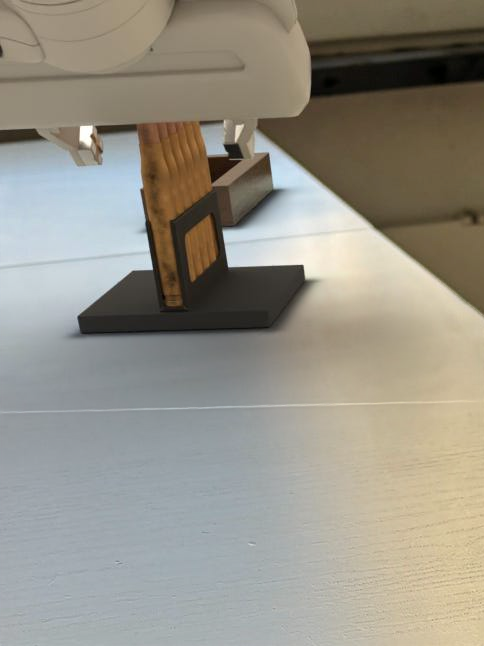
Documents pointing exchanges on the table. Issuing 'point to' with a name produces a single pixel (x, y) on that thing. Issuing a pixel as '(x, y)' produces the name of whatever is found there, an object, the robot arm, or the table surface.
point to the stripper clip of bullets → (180, 214)
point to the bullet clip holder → (236, 185)
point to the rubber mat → (209, 313)
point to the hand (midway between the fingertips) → (166, 153)
